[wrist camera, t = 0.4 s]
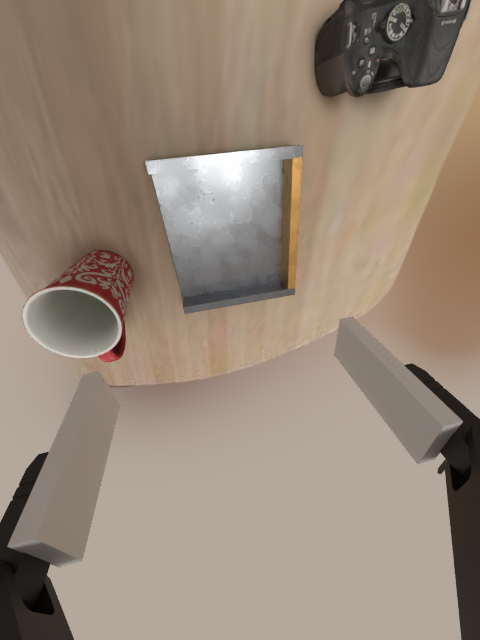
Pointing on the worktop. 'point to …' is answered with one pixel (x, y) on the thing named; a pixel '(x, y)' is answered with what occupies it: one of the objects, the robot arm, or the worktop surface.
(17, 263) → the worktop surface
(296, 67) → the worktop surface
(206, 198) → the tray
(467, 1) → the camera
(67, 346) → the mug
